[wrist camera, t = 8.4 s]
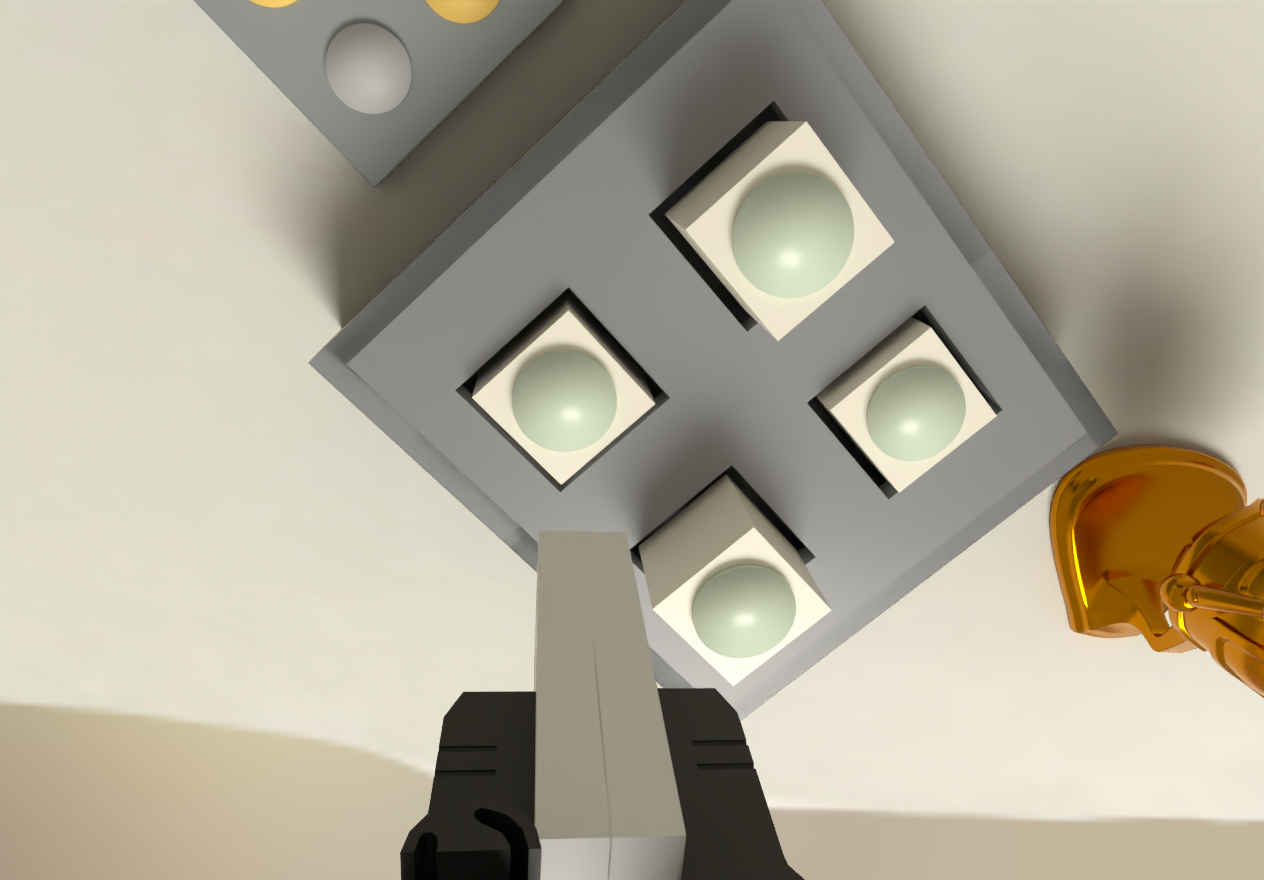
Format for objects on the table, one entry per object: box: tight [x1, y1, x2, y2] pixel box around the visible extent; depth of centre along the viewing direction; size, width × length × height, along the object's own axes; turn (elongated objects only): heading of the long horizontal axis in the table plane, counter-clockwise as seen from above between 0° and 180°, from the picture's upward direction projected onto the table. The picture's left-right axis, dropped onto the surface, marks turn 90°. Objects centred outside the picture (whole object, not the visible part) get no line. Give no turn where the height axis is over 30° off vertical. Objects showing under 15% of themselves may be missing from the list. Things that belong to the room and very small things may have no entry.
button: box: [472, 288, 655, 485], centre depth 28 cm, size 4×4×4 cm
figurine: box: [1050, 445, 1264, 698], centre depth 30 cm, size 9×11×12 cm
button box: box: [309, 0, 1118, 721], centre depth 30 cm, size 20×18×4 cm
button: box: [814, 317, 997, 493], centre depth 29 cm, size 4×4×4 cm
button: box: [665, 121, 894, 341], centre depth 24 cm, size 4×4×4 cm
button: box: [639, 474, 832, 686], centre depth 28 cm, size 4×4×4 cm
